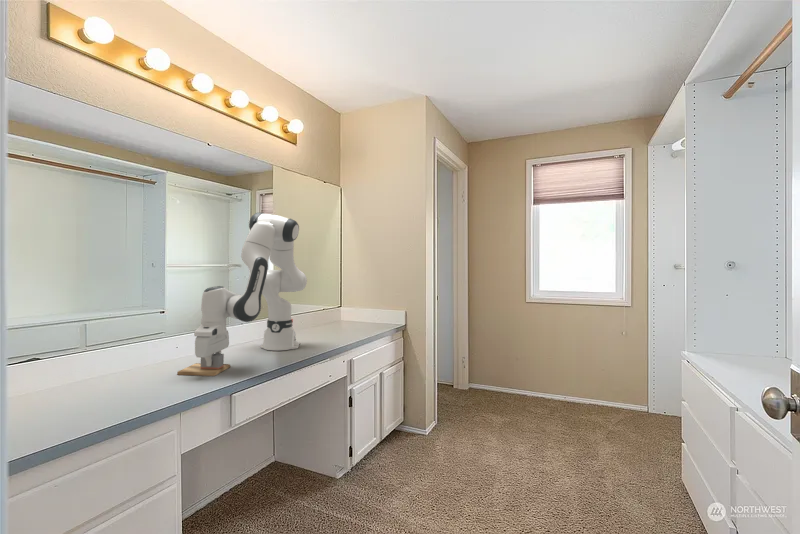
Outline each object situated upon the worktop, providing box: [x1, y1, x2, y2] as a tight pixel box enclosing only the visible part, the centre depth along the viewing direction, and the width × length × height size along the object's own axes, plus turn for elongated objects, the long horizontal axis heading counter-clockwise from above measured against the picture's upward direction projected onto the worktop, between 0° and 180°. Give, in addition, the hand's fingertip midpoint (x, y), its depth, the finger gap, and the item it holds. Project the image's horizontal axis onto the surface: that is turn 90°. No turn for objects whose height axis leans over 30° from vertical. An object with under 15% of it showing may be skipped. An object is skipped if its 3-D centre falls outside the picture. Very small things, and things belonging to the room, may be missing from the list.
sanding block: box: [200, 353, 225, 369], centre depth 157 cm, size 4×7×5 cm, turn 88°
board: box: [176, 362, 231, 377], centre depth 157 cm, size 13×14×1 cm
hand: (213, 364), depth 157 cm, fingers closed on sanding block, 4 cm apart
